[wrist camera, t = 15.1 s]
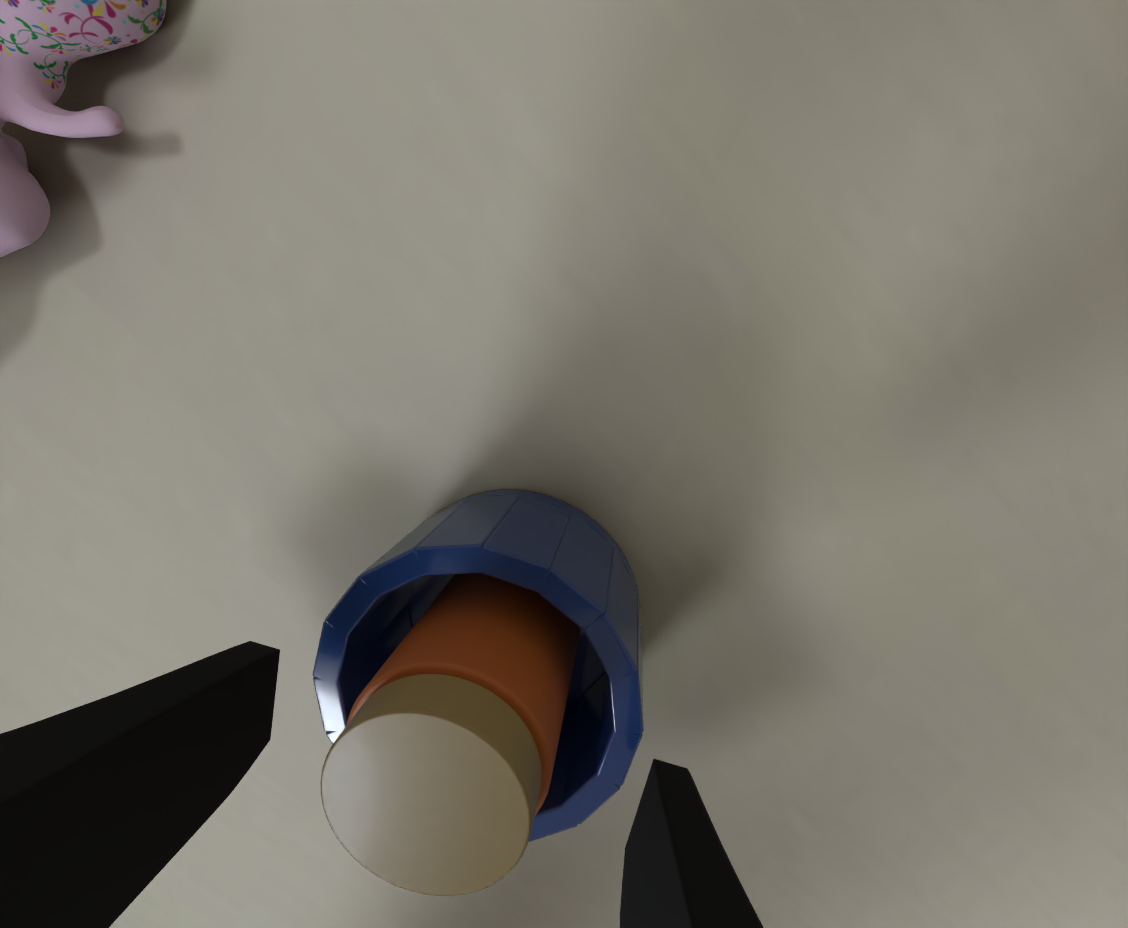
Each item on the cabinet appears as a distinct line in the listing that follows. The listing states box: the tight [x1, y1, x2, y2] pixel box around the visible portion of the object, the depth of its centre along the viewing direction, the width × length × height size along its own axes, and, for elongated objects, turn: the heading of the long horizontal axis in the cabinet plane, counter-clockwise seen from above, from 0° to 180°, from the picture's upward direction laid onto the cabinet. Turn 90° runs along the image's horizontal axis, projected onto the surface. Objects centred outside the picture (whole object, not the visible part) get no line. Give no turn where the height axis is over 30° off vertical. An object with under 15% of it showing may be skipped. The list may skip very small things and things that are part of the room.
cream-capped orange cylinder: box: [321, 573, 580, 896], centre depth 12 cm, size 4×4×6 cm
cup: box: [313, 490, 643, 842], centre depth 13 cm, size 7×7×4 cm
